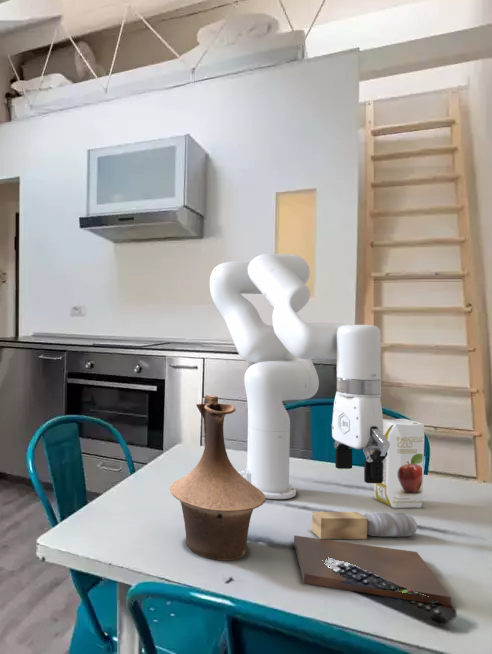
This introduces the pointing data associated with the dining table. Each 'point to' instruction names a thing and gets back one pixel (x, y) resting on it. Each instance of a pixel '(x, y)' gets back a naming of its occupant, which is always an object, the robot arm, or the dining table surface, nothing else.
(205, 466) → the pitcher
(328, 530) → the wood and marble capsule
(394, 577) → the chopping board
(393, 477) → the juice carton
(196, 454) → the dining table surface
